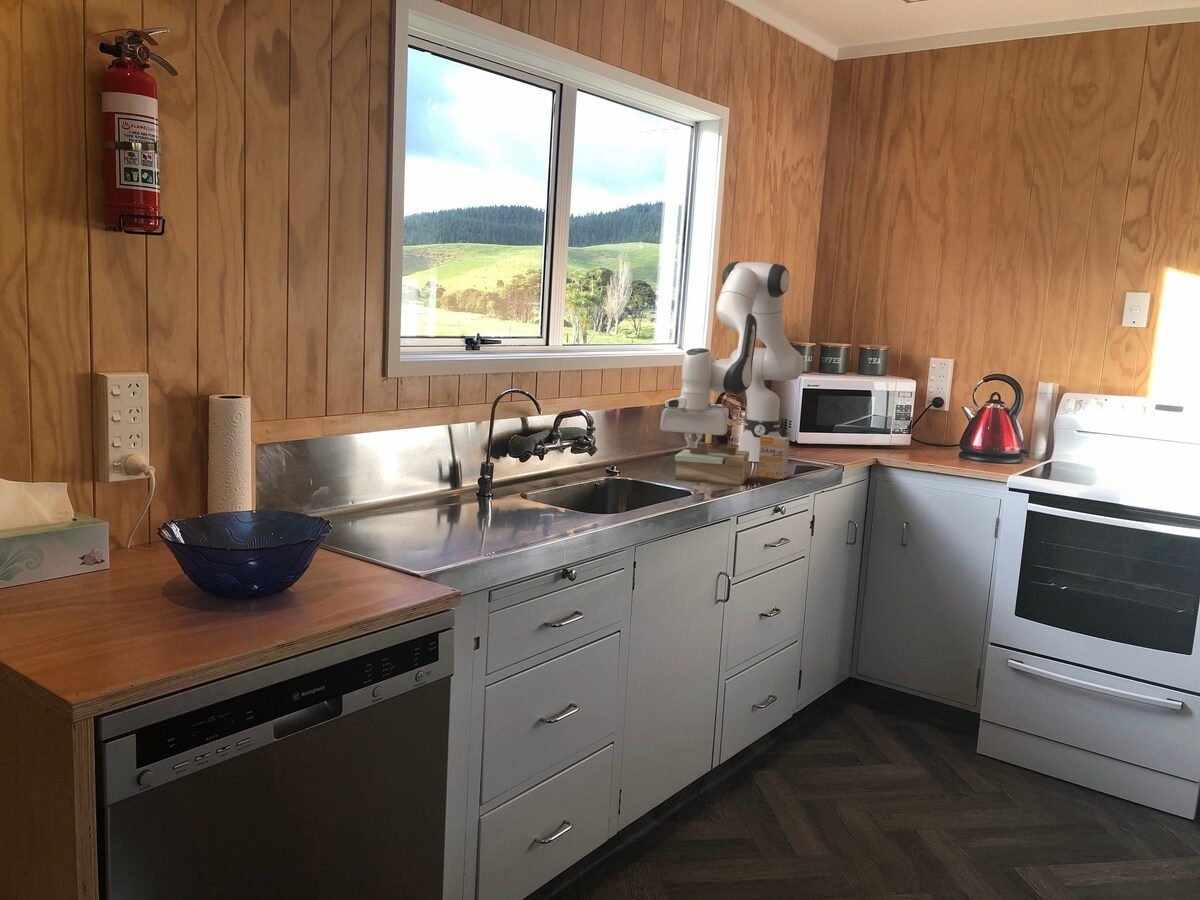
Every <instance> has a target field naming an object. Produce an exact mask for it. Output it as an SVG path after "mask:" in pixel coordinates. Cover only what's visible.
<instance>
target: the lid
mask: <svg viewBox="0 0 1200 900" xmlns="http://www.w3.org/2000/svg"><path fill="white" fill-rule="evenodd" d="M708 446H709V442H702V441H699V442H698V448H689V449H682V450H681V451H680V452H678V453H677V454H675V455H674V461H675V462H676V461H687V462H700V463H712V464H723V463H724V462H725V456H726V455H728V454H720V453H708Z"/></svg>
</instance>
